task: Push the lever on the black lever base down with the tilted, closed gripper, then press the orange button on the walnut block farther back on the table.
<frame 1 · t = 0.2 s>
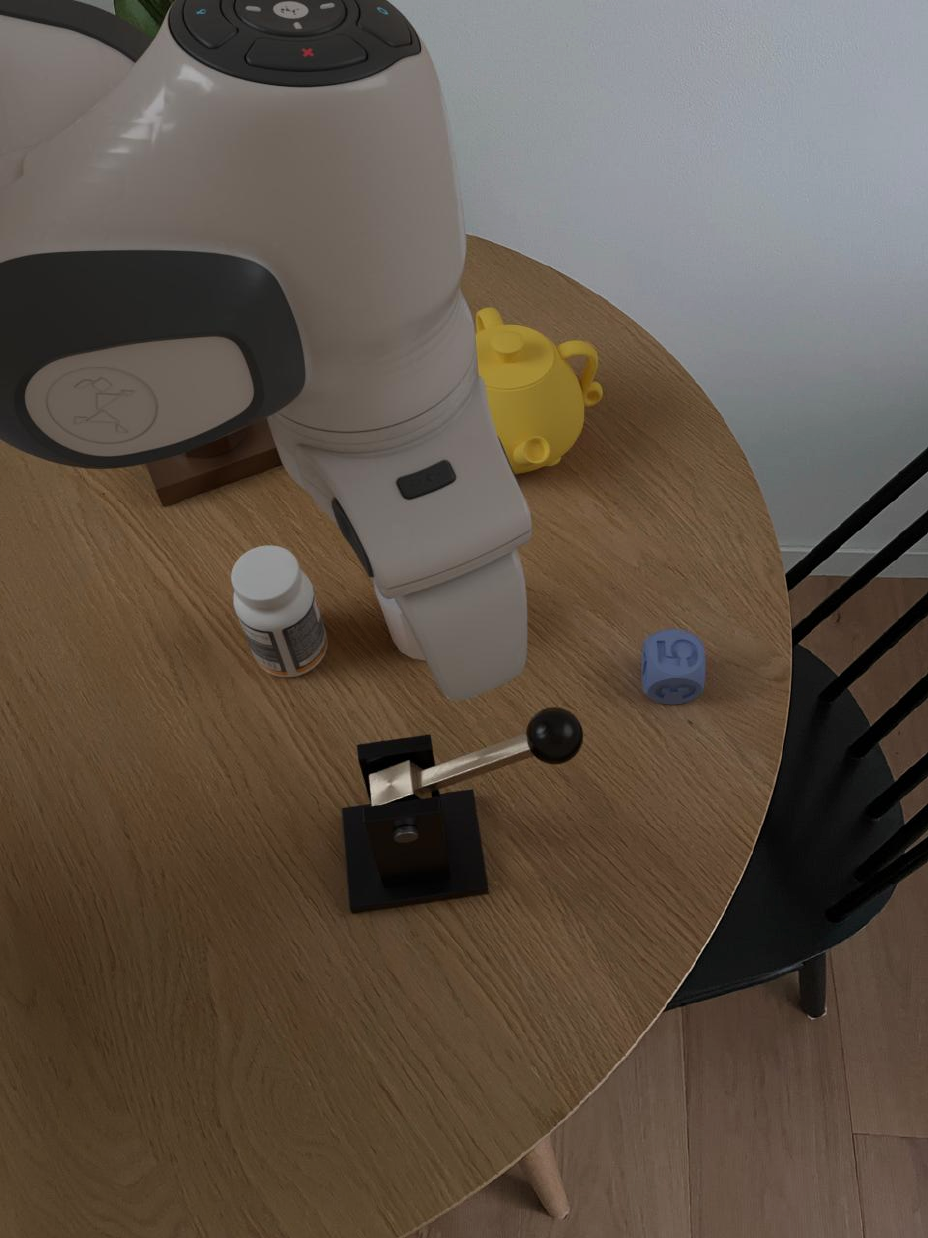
hand: (414, 589, 55), 22 cm above the table, tool pointing down, fingers open, 8 cm apart
teapot: (501, 451, 91), on the table
black lever base: (414, 853, 71), on the table
button: (201, 406, 89), point 4 cm above the table, slide at 0.1 cm
white faceted cylinder: (428, 630, 81), on the table
decorative dice: (669, 682, 77), on the table
silver lever with knob: (477, 763, 61), point 12 cm above the table, hinge at 25.0°
button block: (213, 443, 92), on the table
pill bottle: (291, 650, 80), on the table
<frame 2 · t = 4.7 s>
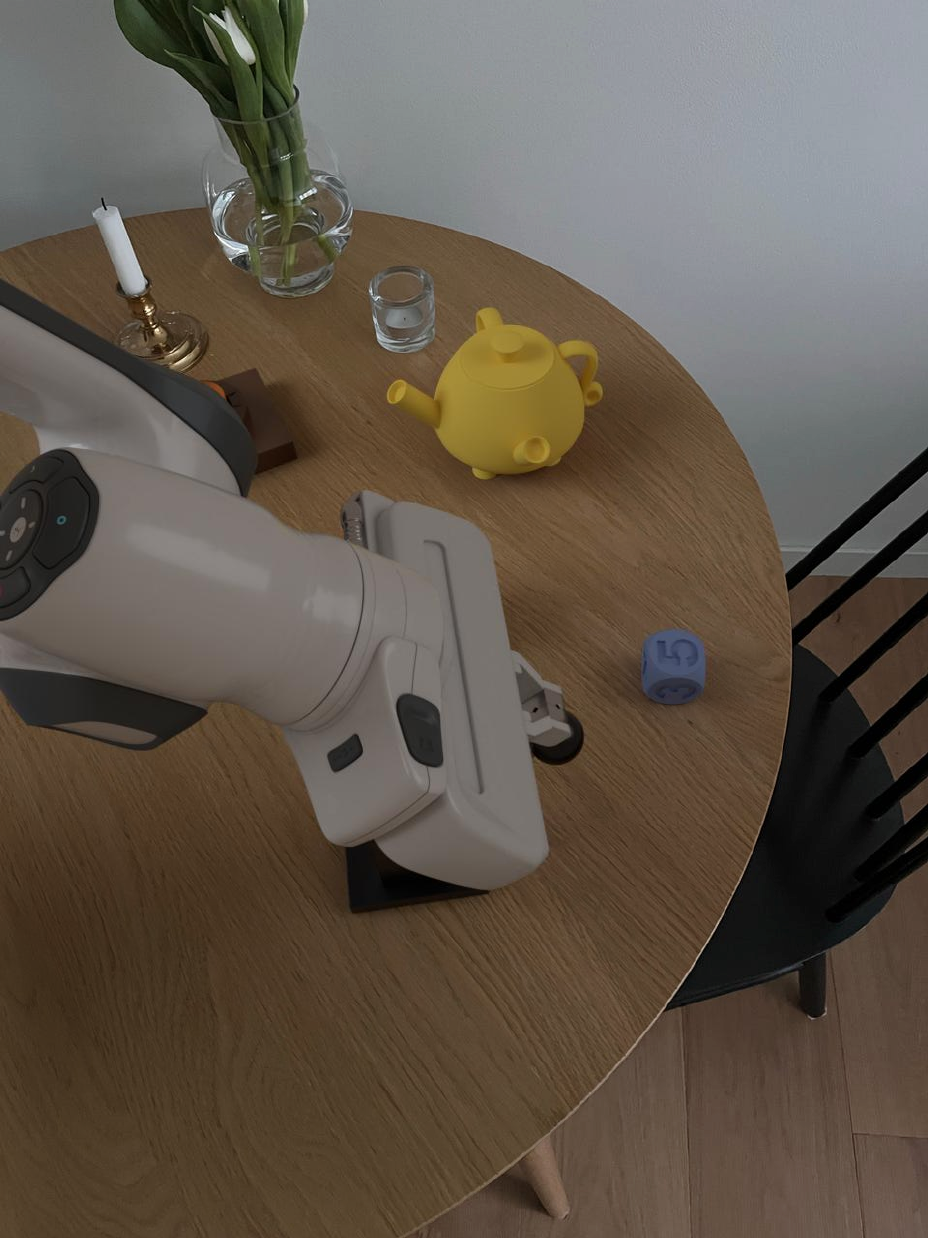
hand: (557, 717, 58), 16 cm above the table, tool tilted 45°, fingers closed, pressing on silver lever with knob
silver lever with knob: (477, 763, 61), point 12 cm above the table, hinge at 24.1°, touching gripper
everything else where it was.
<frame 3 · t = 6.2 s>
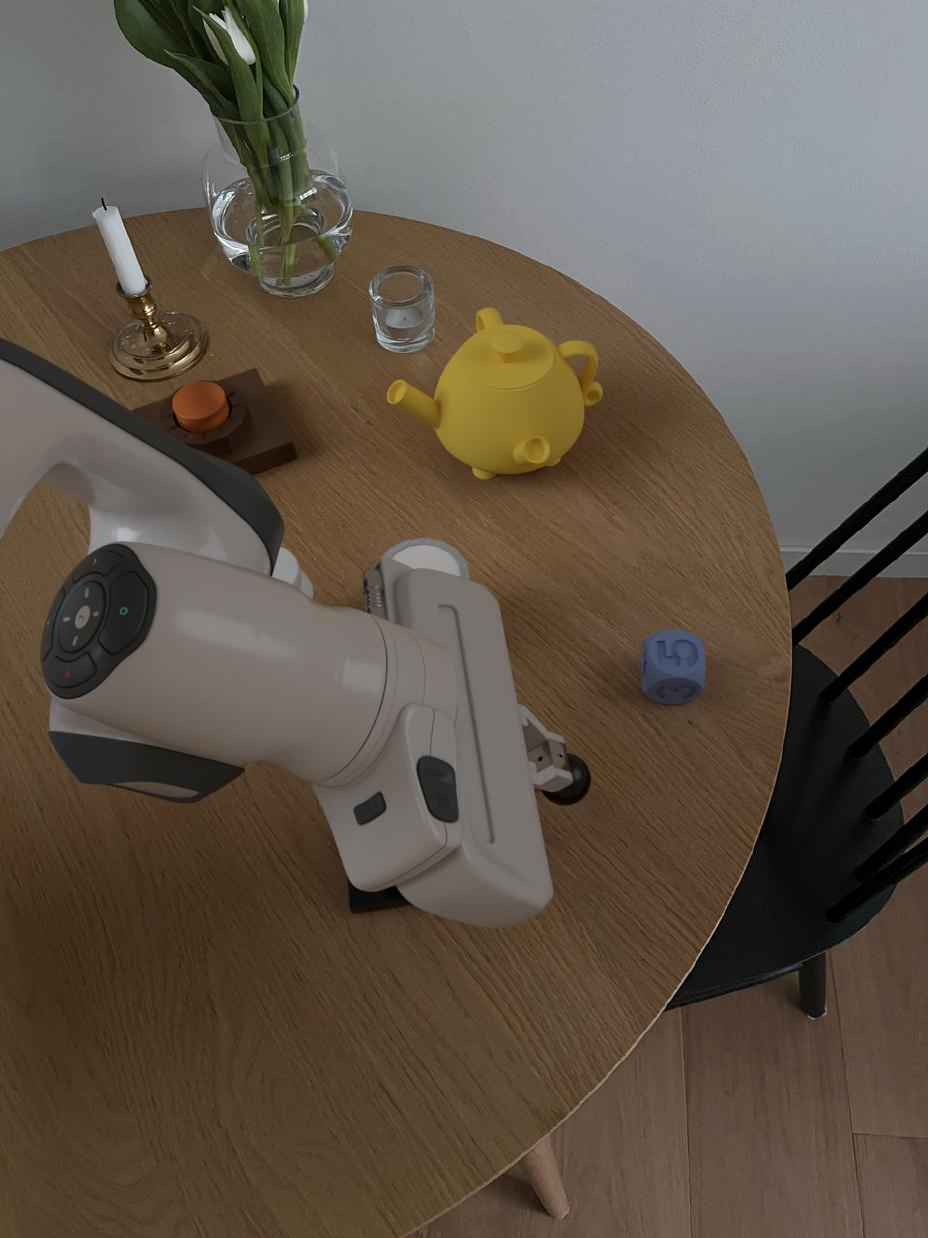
hand: (560, 765, 63), 10 cm above the table, tool tilted 45°, fingers closed, pressing on silver lever with knob
silver lever with knob: (485, 784, 63), point 9 cm above the table, hinge at -9.8°, touching gripper
everything else where it was.
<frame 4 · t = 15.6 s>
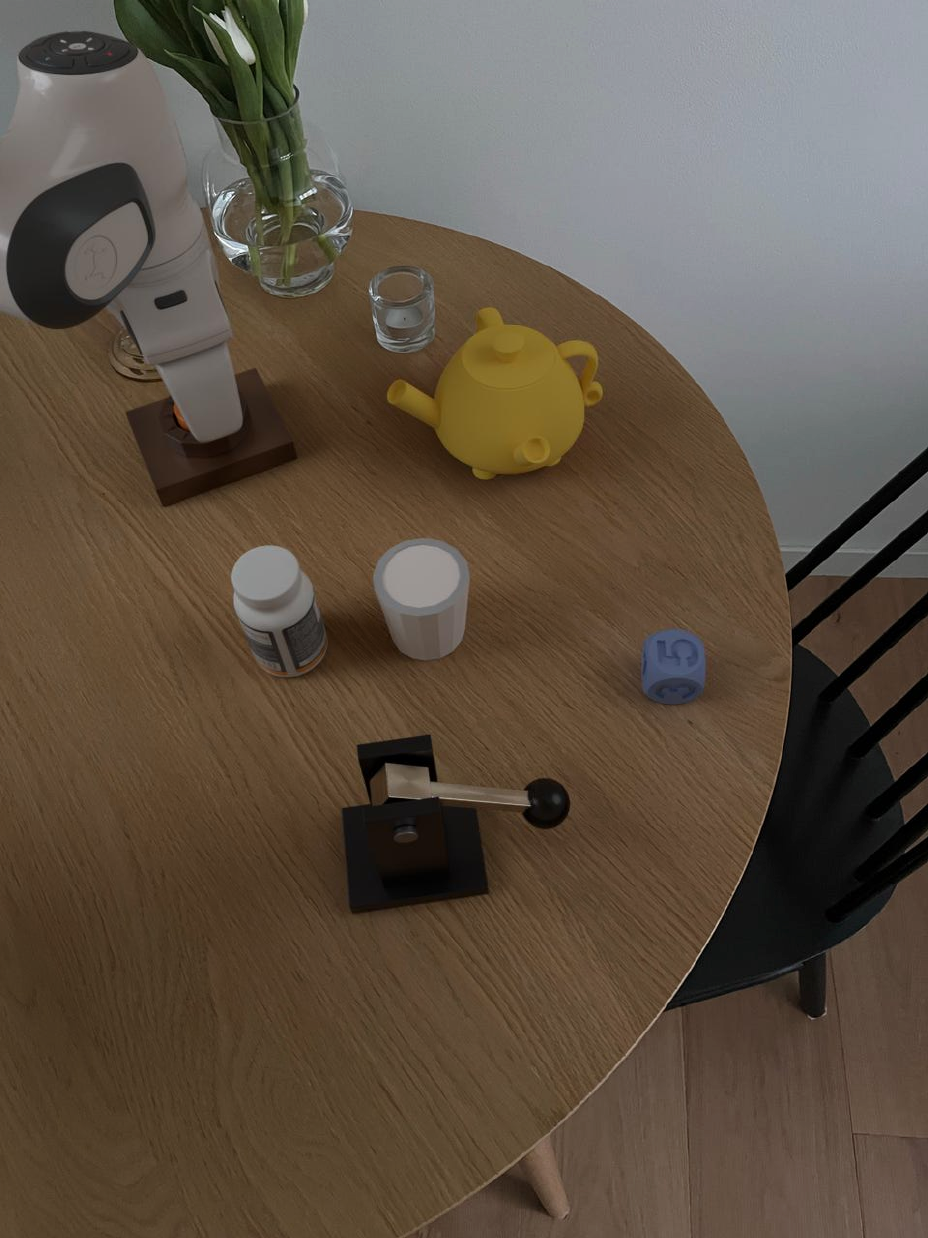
hand: (200, 402, 88), 5 cm above the table, tool pointing down, fingers closed, pressing on button
button: (202, 411, 89), point 4 cm above the table, slide at -0.4 cm, touching gripper
silver lever with knob: (476, 797, 65), point 7 cm above the table, hinge at -29.4°
everything else where it was.
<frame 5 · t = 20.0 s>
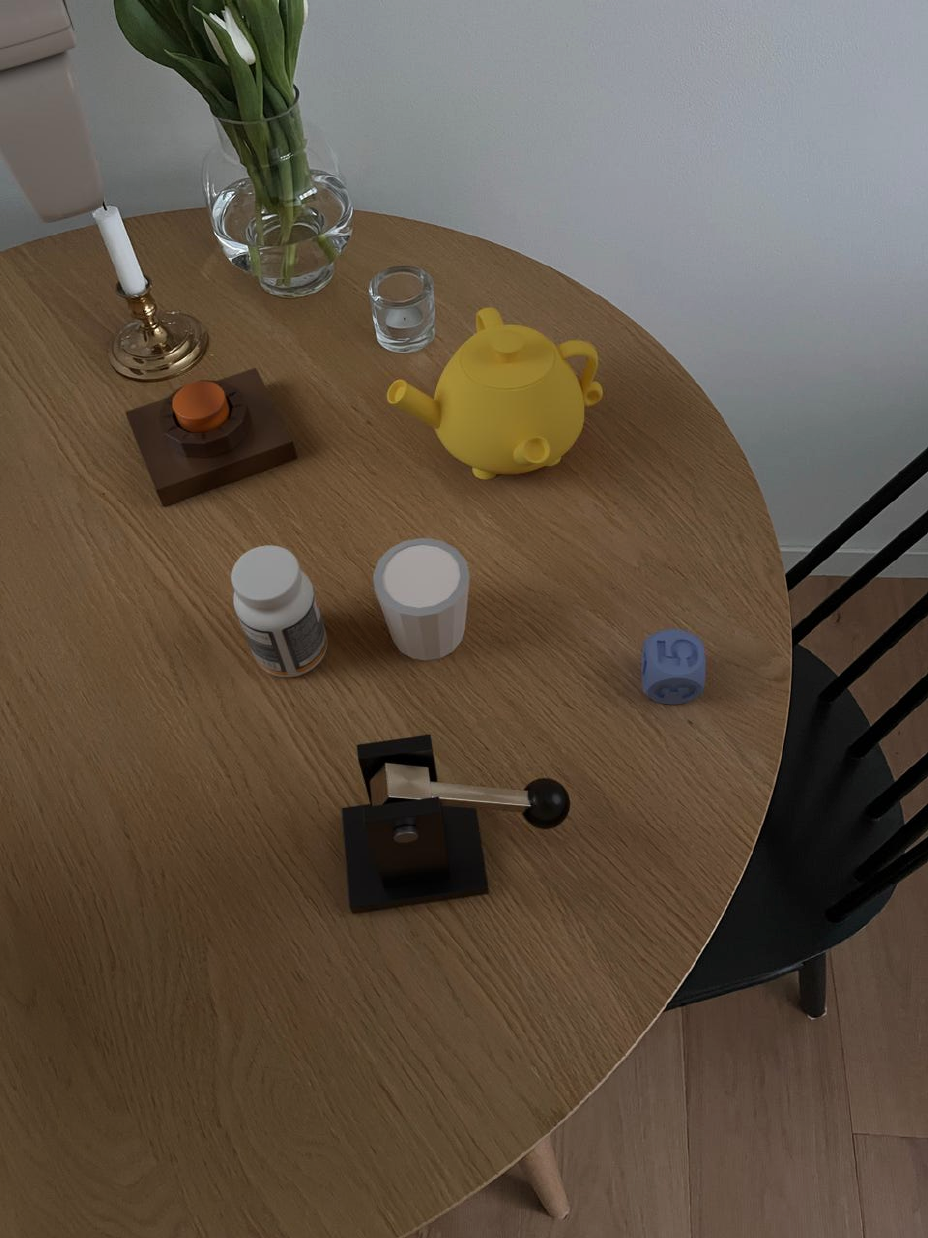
hand: (66, 198, 64), 29 cm above the table, tool pointing down, fingers closed
button: (201, 406, 89), point 4 cm above the table, slide at 0.1 cm
everything else where it was.
at the end: silver lever with knob at -29° (first picture: +25°); button pushed in 1.1 cm at the most during the clip, back to where it started at the end; button slide at 0.1 cm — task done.
